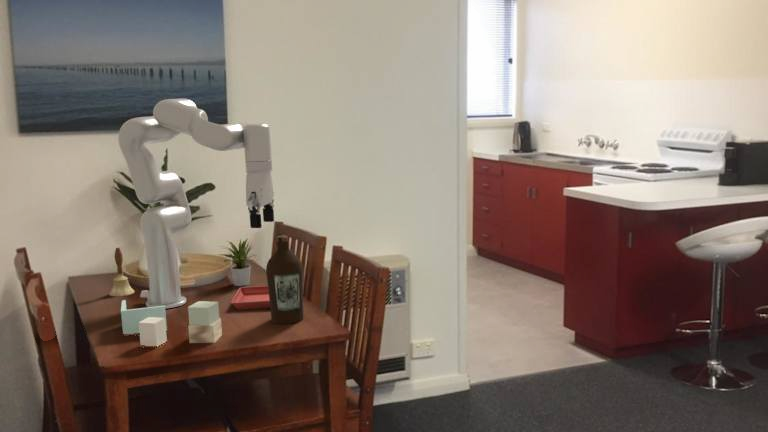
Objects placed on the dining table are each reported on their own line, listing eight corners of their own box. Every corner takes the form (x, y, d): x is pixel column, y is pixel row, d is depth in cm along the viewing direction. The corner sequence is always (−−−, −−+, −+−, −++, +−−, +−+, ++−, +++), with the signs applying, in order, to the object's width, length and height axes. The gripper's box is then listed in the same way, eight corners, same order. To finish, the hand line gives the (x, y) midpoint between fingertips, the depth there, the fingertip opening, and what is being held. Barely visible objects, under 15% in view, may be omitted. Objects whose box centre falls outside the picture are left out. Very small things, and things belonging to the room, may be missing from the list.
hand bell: (139, 291, 275) (135, 246, 273) (120, 297, 269) (115, 251, 266) (123, 289, 280) (119, 244, 277) (103, 295, 273) (99, 249, 270)
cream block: (140, 347, 217) (138, 322, 216) (150, 341, 222) (148, 317, 220) (157, 348, 216) (154, 323, 214) (167, 342, 220) (164, 317, 219)
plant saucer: (231, 312, 248) (230, 302, 247) (240, 296, 266) (239, 286, 265) (289, 309, 248) (288, 299, 247) (294, 294, 266) (294, 284, 265)
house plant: (228, 278, 289) (225, 233, 287) (266, 277, 288) (263, 233, 285) (215, 288, 276) (211, 242, 273) (254, 288, 274) (251, 241, 271)
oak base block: (189, 343, 219) (188, 325, 218) (197, 335, 226) (196, 318, 225) (214, 343, 218) (213, 325, 217) (222, 335, 225) (220, 318, 224)
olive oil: (267, 316, 240) (261, 234, 236) (302, 312, 243) (297, 231, 239) (272, 326, 230) (266, 241, 226) (308, 322, 233) (303, 238, 229)
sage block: (189, 324, 219) (187, 307, 218) (200, 318, 225) (198, 301, 224) (209, 325, 217) (207, 308, 217) (219, 319, 223) (218, 301, 222)
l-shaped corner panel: (167, 331, 230) (165, 306, 229) (123, 336, 227) (120, 311, 225) (166, 320, 241) (163, 295, 240) (124, 324, 238) (121, 300, 237)
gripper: (258, 163, 242) (261, 219, 245) (234, 170, 225) (238, 230, 228) (281, 163, 240) (285, 219, 243) (259, 170, 223) (263, 230, 226)
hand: (262, 224), depth 235 cm, fingers open, 9 cm apart
